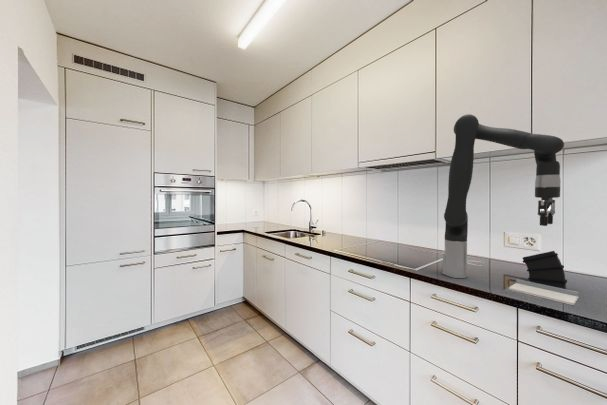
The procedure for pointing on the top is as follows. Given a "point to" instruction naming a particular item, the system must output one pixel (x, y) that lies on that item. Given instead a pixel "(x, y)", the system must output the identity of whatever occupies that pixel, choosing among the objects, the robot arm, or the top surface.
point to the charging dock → (545, 291)
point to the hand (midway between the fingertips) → (546, 224)
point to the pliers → (474, 264)
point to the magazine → (546, 269)
